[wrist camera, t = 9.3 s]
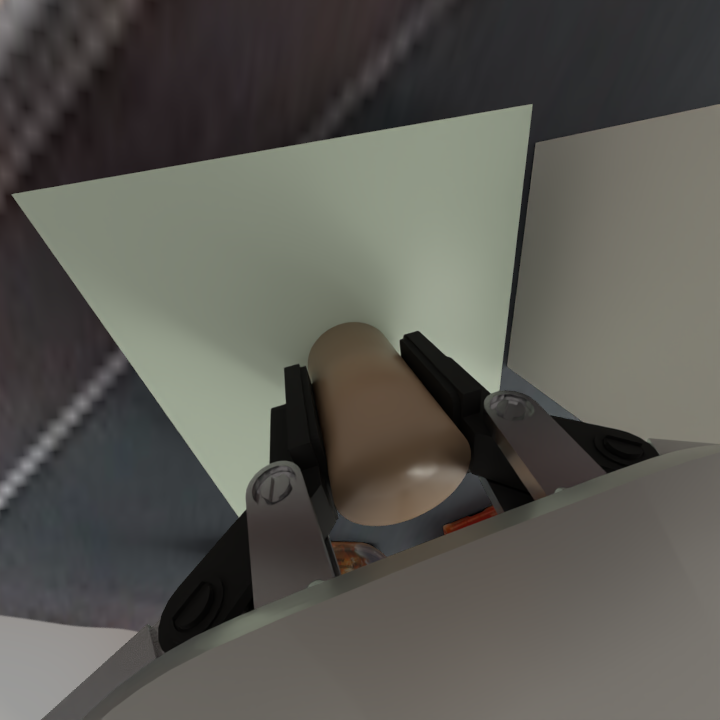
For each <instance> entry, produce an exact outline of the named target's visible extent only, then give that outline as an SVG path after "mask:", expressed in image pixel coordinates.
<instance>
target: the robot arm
mask: <svg viewBox="0 0 720 720" xmlns="http://www.w3.org/2000/svg"><path fill="white" fill-rule="evenodd" d="M400 353H401V357H402V358H403V360H404V361H405V362H406V363H407V365H408V366H409V367H410V368H411V370H412V371H413V372H414V374H415V375H416V376H417V377H418V379H419V380H420V381H421V382H422V384H423V385H424V386H425V387H426V389H427V390H428V391H429V392H430V394H431V395H432V396H433V397H434V399H435V400H436V401H437V403H438V404H439V405H440V406H441V408H442V409H443V410H444V411H445V413H446V414H447V415H448V416H449V418H450V419H451V420H452V421H453V423H454V424H455V425H456V426H457V428H458V429H459V430H460V431H461V433H462V434H463V435H464V437H465V438H466V439H467V441H468V443H469V445H470V450H471V460H470V465H469V468H468V471H467V473H469V472H471V473H472V474H475V475H478V476H479V479H480V482H481V484H482V486H483V488H484V490H485V491H486V493H487V495H488V497H489V499H490V501H491V503H492V505H493V507H494V509H495V510H496V512H497V514H498V515H496V516H493V517H491V518H488V519H485V520H483V521H480V522H478V523H475V524H472V525H470V526H467V527H464V528H462V529H459V530H457V531H454V532H451V533H449V534H446V535H444V536H441V537H438V538H436V539H433V540H430V541H428V542H425V543H423V544H420V545H417V546H415V547H412V548H410V549H407V550H404V551H402V552H399V553H397V554H394V555H391V556H389V557H386V558H384V559H381V560H379V561H376V562H373V563H371V564H368V565H366V566H363V567H361V568H358V569H355V570H353V571H350V572H348V573H345V574H342V575H341V572H340V569H339V566H338V562H337V559H336V556H335V553H334V550H333V547H332V544H331V541H330V538H329V533H330V531H331V530H332V528H333V526H334V525H335V523H336V520H337V519H338V515H337V510H336V506H335V504H334V501H333V496H332V491H331V486H330V480H329V475H328V464H327V459H326V454H325V449H324V444H323V439H322V434H321V429H320V424H319V419H318V413H317V408H316V403H315V398H314V393H313V388H312V383H311V380H310V377H309V374H308V371H307V368H306V366H303V367H300V365H299V364H295V365H292V366H288V367H285V368H284V378H285V398H286V404H284V405H280V406H277V407H273V408H271V415H270V461H269V465H267V466H265V467H263V468H262V469H261V470H260V471H258V472H257V473H256V474H255V475H254V477H253V478H252V479H251V481H250V482H249V484H248V487H247V489H246V497H245V498H246V510H245V511H244V512H243V514H242V515H241V516H240V517H239V518H238V519H237V520H236V522H235V523H234V524H233V525H232V526H231V527H230V528H229V530H228V531H227V532H226V533H225V534H224V535H223V537H222V538H221V539H220V540H219V541H218V542H217V543H216V545H215V546H214V547H213V548H212V549H211V550H210V551H209V553H208V554H207V555H206V556H205V557H204V558H203V560H202V561H201V562H200V563H199V564H198V565H197V566H196V568H195V569H194V570H193V571H192V572H191V573H190V574H189V576H188V577H187V578H186V579H185V580H184V581H183V583H182V584H181V585H180V586H179V587H178V588H177V590H176V591H175V592H174V594H173V595H172V597H171V598H170V599H169V601H168V603H167V605H166V607H165V609H164V611H163V613H162V616H161V619H160V620H159V621H158V622H157V623H156V624H154V625H153V626H152V627H151V626H150V625H148V624H147V625H146V626H145V627H144V628H143V629H141V630H140V631H139V632H138V633H137V634H136V635H135V636H134V637H133V638H131V639H130V640H129V641H128V642H127V643H126V644H125V645H124V646H123V647H121V648H120V649H119V650H118V651H117V652H116V653H115V654H114V655H113V656H111V657H110V658H109V659H108V660H107V661H106V662H105V663H104V664H102V666H101V667H99V668H98V669H97V670H96V671H95V672H94V673H93V674H91V675H90V676H89V677H88V678H87V679H86V680H85V681H84V682H82V683H81V684H80V685H79V686H78V687H77V688H76V689H75V690H74V691H73V692H71V693H70V694H69V695H68V696H67V697H66V698H65V699H64V700H63V701H61V702H60V703H59V704H58V705H57V706H56V707H55V708H54V709H53V710H51V711H50V712H49V713H48V714H47V715H46V716H45V717H44V718H42V719H41V720H720V444H713V443H701V442H689V441H677V440H665V439H653V438H648V440H647V442H646V441H645V440H643V439H641V438H640V437H638V436H636V435H633V434H631V433H629V432H625V431H622V430H618V429H614V428H609V427H604V426H599V425H594V424H589V423H585V422H580V421H575V420H570V419H565V418H560V417H556V416H551V415H549V414H548V413H547V412H546V411H545V410H544V409H543V408H542V407H541V406H540V405H539V404H538V403H537V402H536V401H535V400H533V399H532V398H531V397H529V396H527V395H525V394H523V393H519V392H516V391H507V390H505V391H497V392H494V393H490V392H489V391H488V390H486V389H485V388H484V387H483V386H482V385H481V384H480V383H479V382H478V381H477V380H475V379H474V378H473V377H472V376H471V375H470V374H469V373H468V372H467V371H465V370H464V369H463V368H462V367H461V366H460V365H459V364H458V363H457V362H456V361H454V360H453V359H452V358H451V357H447V356H446V355H445V354H443V353H442V352H441V351H440V350H439V349H438V348H437V347H436V346H435V345H434V344H433V343H432V342H430V341H429V340H428V339H427V338H426V337H425V336H424V335H423V334H422V333H421V332H420V331H415V332H411V333H408V334H404V336H403V339H400Z"/></svg>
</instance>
